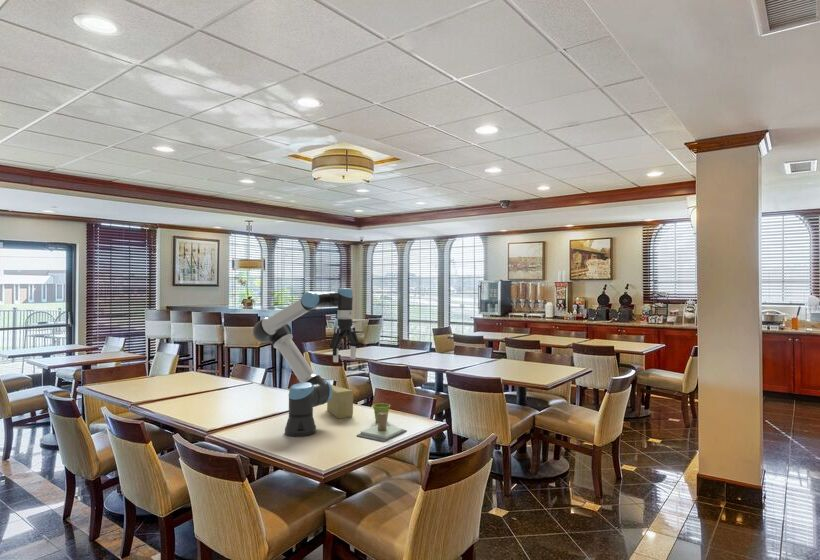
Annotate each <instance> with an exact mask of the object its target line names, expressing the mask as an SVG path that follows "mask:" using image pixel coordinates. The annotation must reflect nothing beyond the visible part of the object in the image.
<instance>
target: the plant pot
mask: <svg viewBox="0 0 820 560" xmlns="http://www.w3.org/2000/svg"><path fill="white" fill-rule="evenodd" d="M372 407H373V410H374V417H375V422H376V423H378V413H387V419H388V417H389V411H390V407H391V404H388V403H375V404H372Z"/></svg>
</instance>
